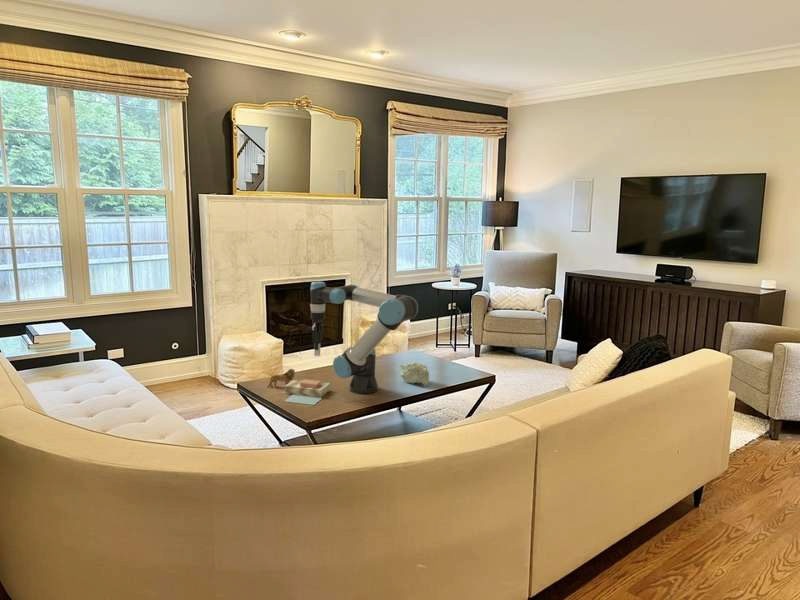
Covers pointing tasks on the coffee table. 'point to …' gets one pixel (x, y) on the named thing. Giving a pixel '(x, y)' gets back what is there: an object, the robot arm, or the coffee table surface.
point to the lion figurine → (282, 377)
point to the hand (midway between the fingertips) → (317, 355)
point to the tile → (310, 383)
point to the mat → (303, 399)
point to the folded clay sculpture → (415, 373)
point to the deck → (306, 389)
